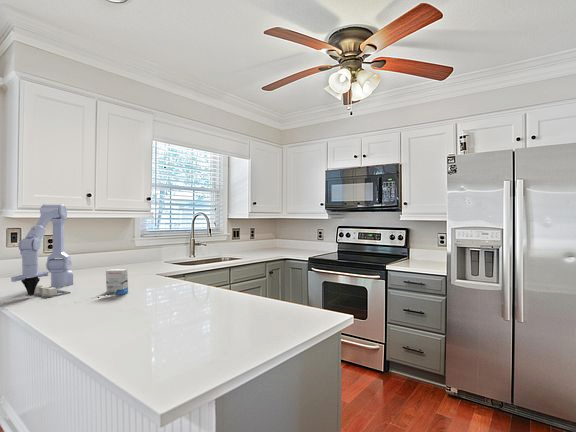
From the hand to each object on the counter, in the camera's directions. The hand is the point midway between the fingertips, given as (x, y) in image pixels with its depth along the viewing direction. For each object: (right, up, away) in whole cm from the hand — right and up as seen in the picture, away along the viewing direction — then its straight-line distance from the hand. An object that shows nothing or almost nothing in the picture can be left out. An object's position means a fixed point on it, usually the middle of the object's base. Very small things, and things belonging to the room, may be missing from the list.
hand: (30, 294), depth 157 cm
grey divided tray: (+4, -2, +7) cm, 8 cm away
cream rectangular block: (+3, -1, +5) cm, 6 cm away
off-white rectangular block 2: (+8, -1, +2) cm, 8 cm away
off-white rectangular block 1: (-3, -1, +8) cm, 8 cm away
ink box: (+34, -2, +11) cm, 36 cm away
